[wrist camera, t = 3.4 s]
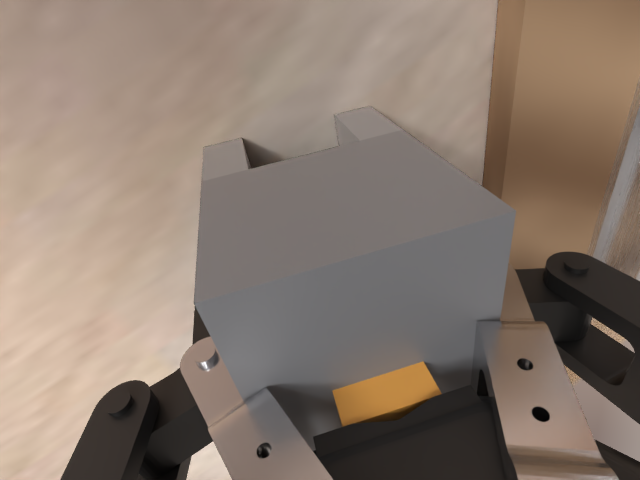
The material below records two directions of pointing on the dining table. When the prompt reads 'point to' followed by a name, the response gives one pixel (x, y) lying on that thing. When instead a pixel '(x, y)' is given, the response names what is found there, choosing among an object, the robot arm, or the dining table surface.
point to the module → (348, 273)
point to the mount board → (558, 116)
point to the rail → (622, 203)
